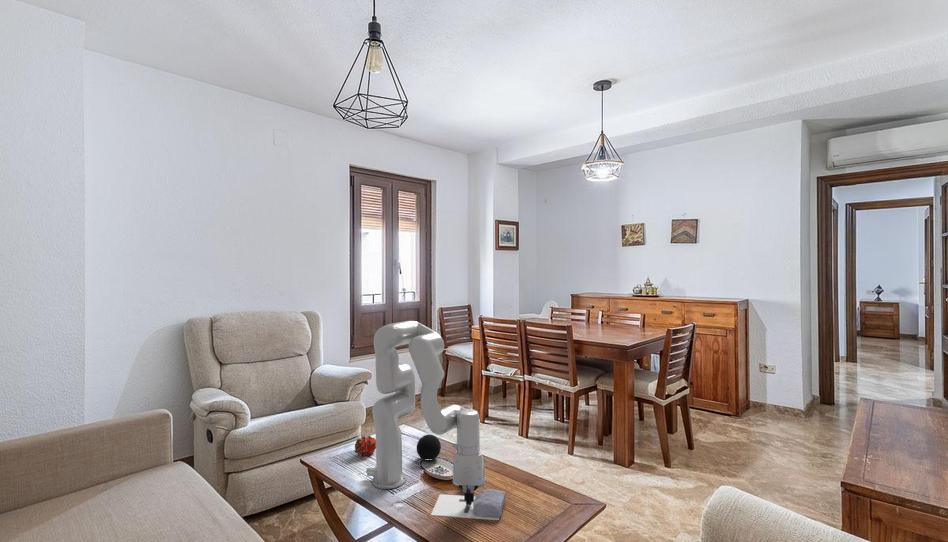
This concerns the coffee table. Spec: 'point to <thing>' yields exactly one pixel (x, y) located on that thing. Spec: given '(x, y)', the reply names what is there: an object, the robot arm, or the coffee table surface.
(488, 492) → the stone block
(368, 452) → the dragon fruit
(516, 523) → the coffee table surface
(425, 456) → the decorative ball
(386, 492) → the coffee table surface
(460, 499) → the letter sheet
